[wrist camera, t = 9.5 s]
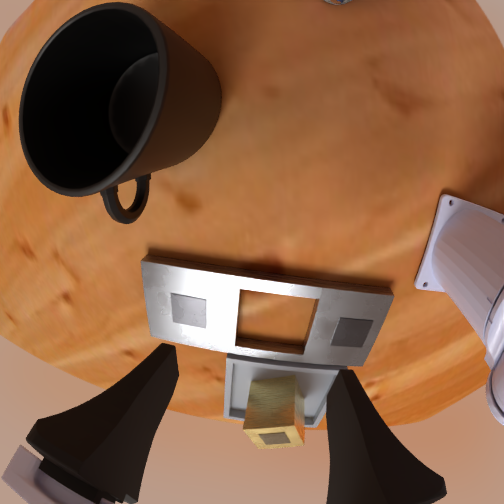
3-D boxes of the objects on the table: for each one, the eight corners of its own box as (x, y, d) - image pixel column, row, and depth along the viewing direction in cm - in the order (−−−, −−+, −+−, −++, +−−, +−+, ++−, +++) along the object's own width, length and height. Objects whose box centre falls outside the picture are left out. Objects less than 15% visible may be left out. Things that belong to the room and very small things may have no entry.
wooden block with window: (295, 374, 24) (294, 426, 19) (304, 399, 26) (304, 445, 20) (250, 381, 25) (242, 430, 20) (264, 404, 27) (258, 449, 22)
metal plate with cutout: (389, 288, 20) (394, 296, 19) (360, 357, 23) (362, 366, 22) (147, 254, 21) (140, 261, 20) (155, 328, 25) (150, 336, 23)
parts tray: (345, 359, 23) (347, 371, 22) (316, 417, 28) (316, 427, 27) (229, 346, 24) (226, 357, 23) (225, 408, 29) (223, 417, 28)
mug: (113, 203, 20) (34, 247, 12) (108, 62, 15) (24, 45, 7) (224, 201, 19) (177, 256, 11) (223, 37, 14) (175, -25, 6)
